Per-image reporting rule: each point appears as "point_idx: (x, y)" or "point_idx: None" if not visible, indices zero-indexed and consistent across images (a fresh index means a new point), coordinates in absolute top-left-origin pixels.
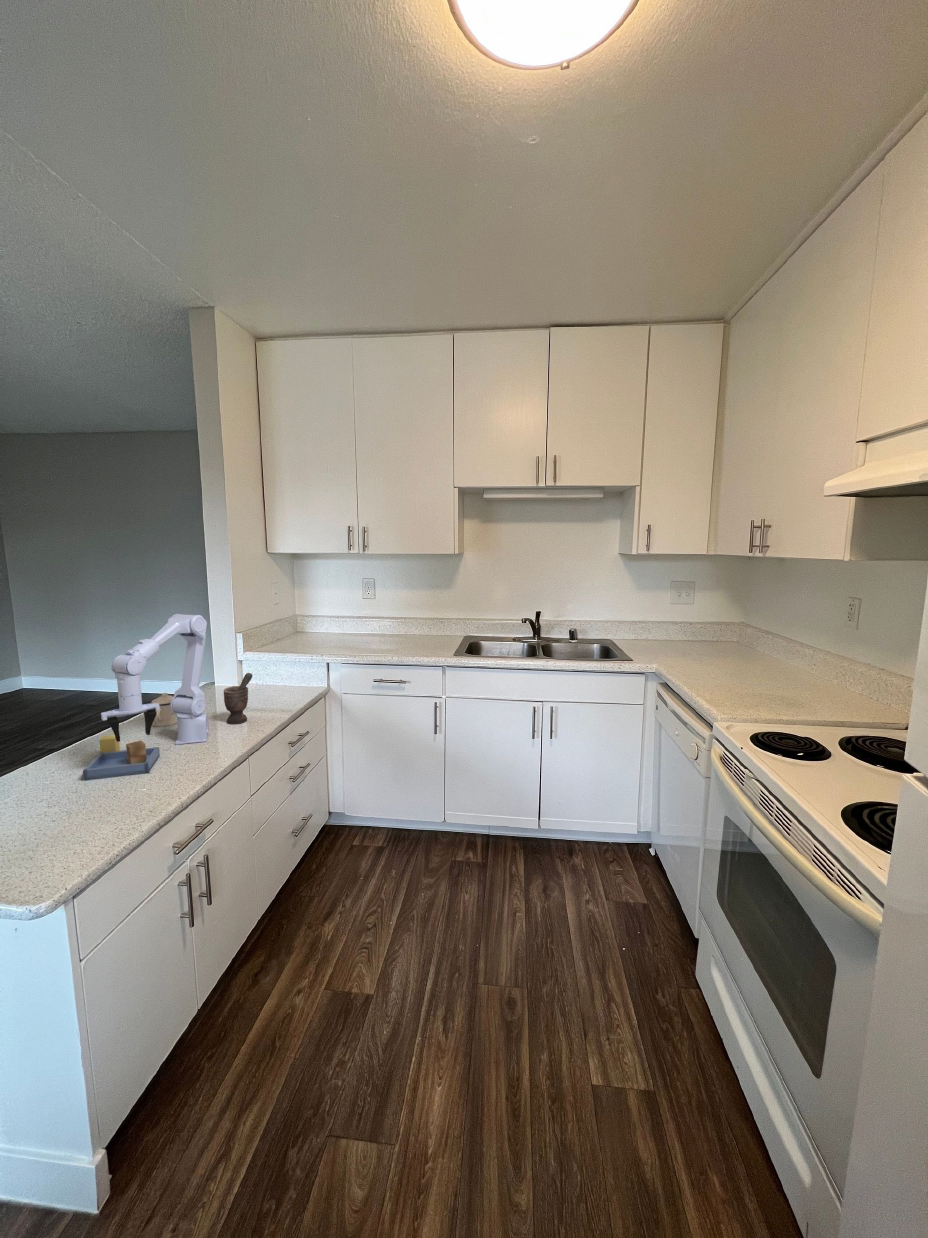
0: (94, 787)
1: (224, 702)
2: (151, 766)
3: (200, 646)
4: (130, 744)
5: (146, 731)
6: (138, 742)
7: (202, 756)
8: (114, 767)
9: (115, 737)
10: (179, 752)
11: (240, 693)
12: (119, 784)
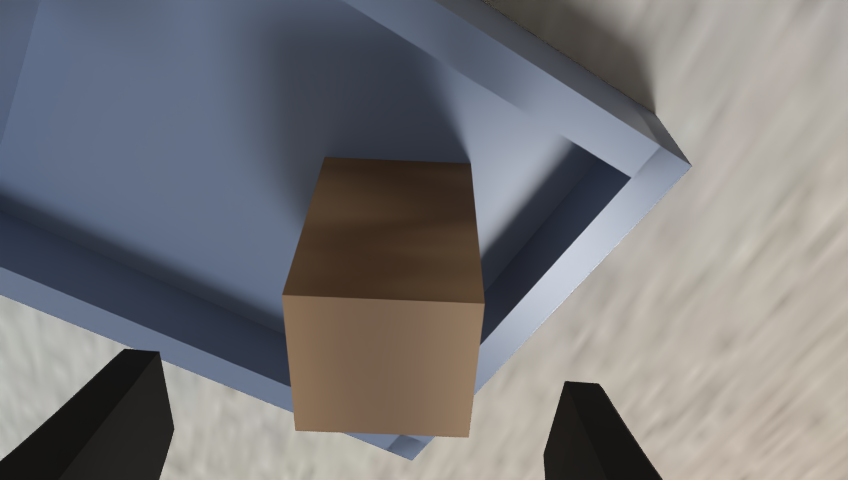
0: (60, 361)
1: None
2: None
3: None
4: (325, 348)
5: (560, 471)
6: (427, 351)
7: (840, 383)
8: (171, 359)
9: (94, 381)
10: (826, 167)
11: None
12: (213, 420)
